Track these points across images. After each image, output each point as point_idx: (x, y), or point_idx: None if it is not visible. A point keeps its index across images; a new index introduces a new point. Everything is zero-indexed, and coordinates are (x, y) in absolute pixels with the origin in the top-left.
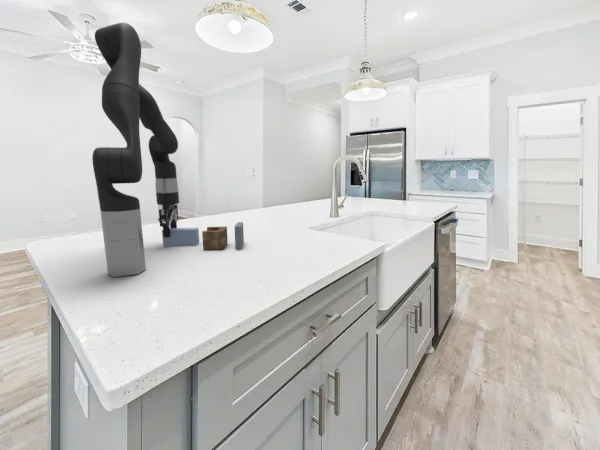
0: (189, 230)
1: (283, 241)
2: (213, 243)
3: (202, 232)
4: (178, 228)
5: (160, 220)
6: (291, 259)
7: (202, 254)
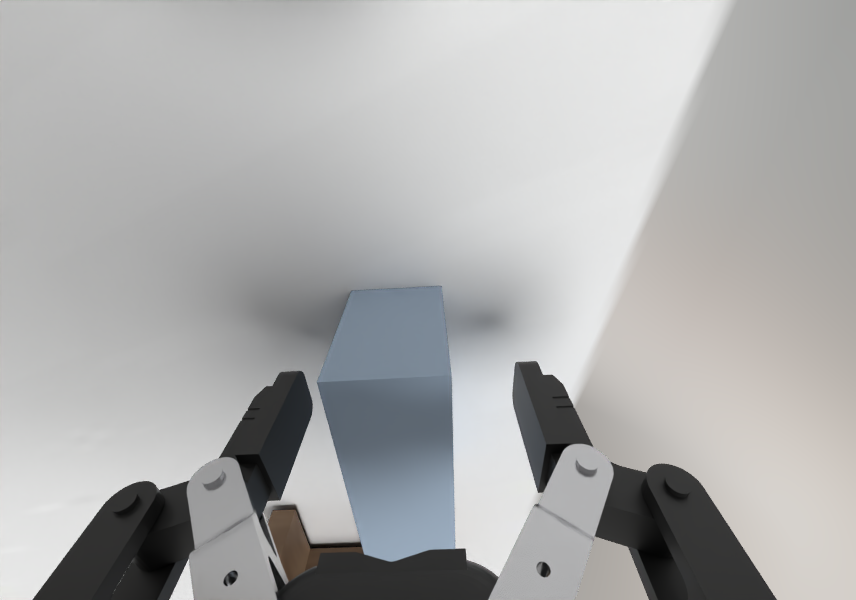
0: (364, 544)
1: None
2: None
3: None
4: (433, 479)
5: (54, 591)
6: None
7: None
